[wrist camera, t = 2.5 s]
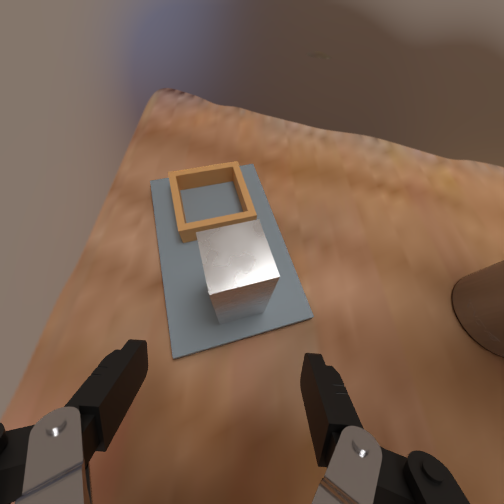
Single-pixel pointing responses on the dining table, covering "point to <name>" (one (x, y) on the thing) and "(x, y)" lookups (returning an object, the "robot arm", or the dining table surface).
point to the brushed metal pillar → (238, 269)
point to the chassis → (190, 263)
